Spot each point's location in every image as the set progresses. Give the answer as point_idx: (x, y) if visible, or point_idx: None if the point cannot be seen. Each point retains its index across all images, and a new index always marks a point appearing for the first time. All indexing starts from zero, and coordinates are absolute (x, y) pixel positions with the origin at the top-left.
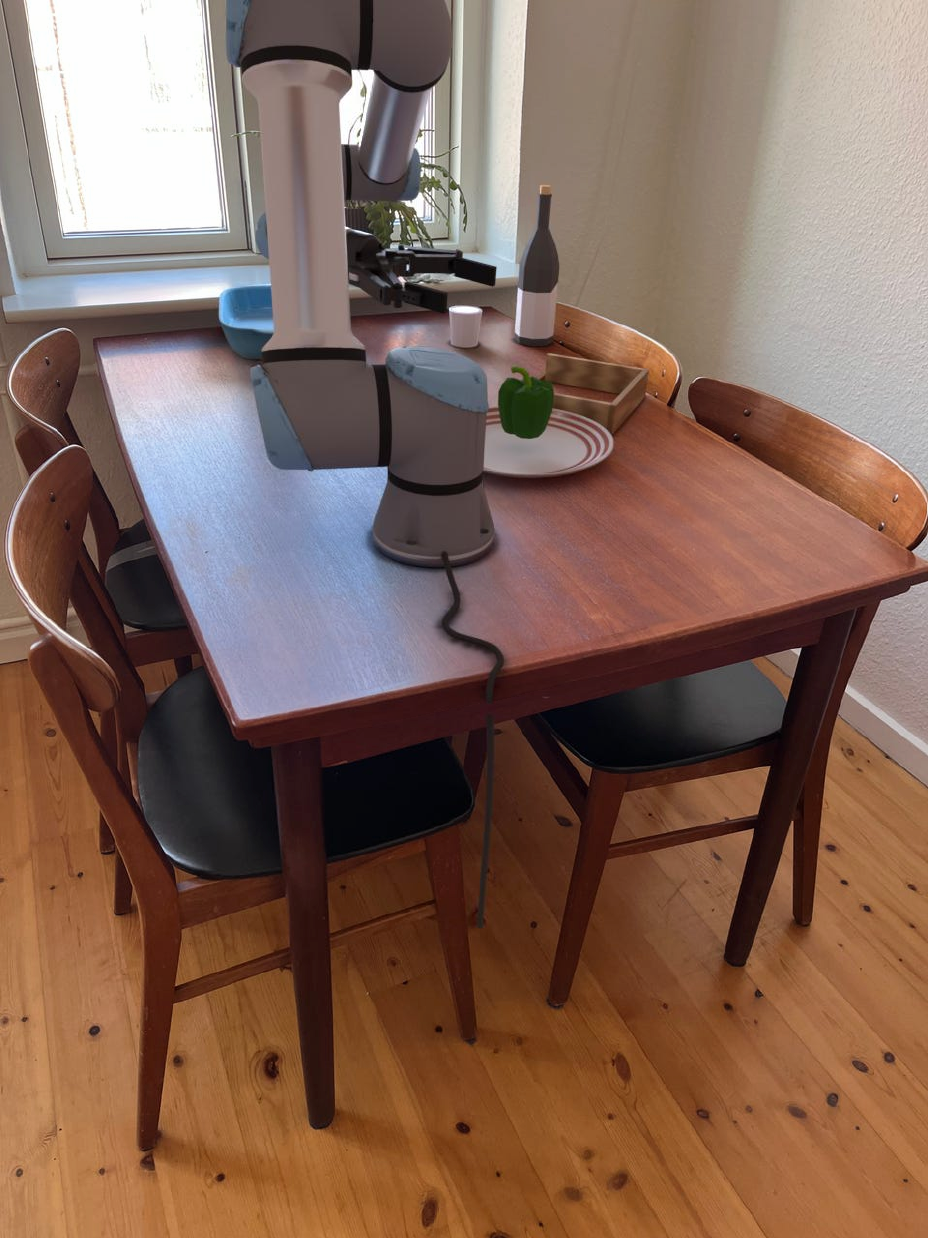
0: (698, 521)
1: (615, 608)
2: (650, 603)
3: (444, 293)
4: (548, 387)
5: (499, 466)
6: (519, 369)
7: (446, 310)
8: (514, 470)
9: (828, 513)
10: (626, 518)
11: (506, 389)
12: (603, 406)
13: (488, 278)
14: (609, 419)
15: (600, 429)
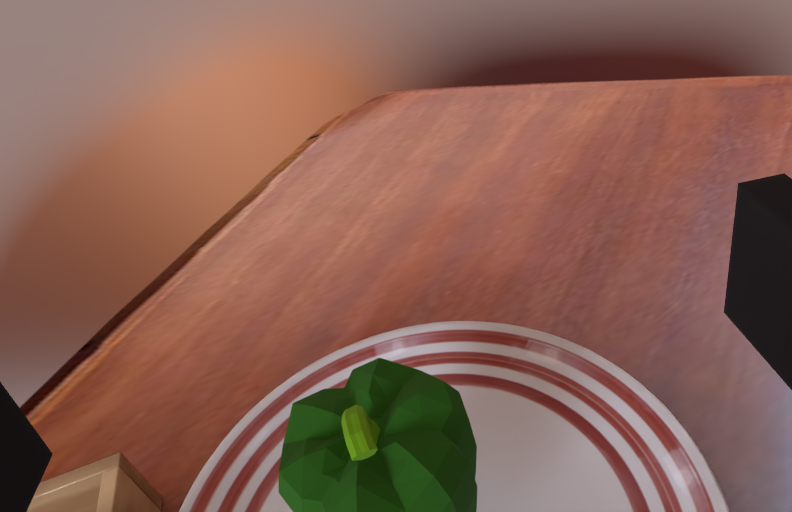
0: (449, 204)
1: (768, 112)
2: (711, 109)
3: (779, 179)
4: (333, 391)
5: (579, 505)
6: (364, 420)
7: (727, 302)
8: (567, 458)
9: (306, 169)
10: (531, 244)
11: (450, 452)
12: (121, 484)
13: (11, 449)
14: (141, 484)
15: (241, 434)
